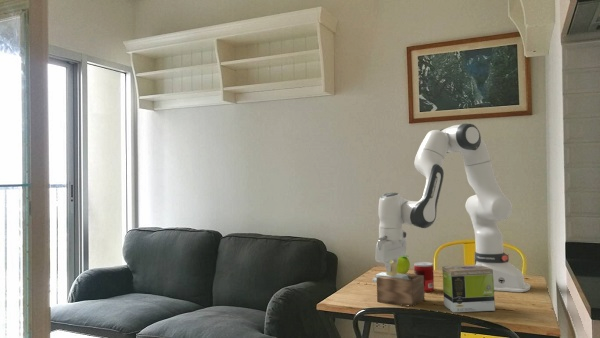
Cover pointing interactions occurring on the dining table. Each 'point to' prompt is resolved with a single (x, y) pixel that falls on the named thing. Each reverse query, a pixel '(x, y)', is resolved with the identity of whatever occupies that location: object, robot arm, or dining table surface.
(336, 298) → the dining table surface
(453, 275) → the tea box
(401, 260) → the fruit
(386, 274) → the lid
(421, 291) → the box
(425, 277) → the canned food
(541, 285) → the dining table surface
